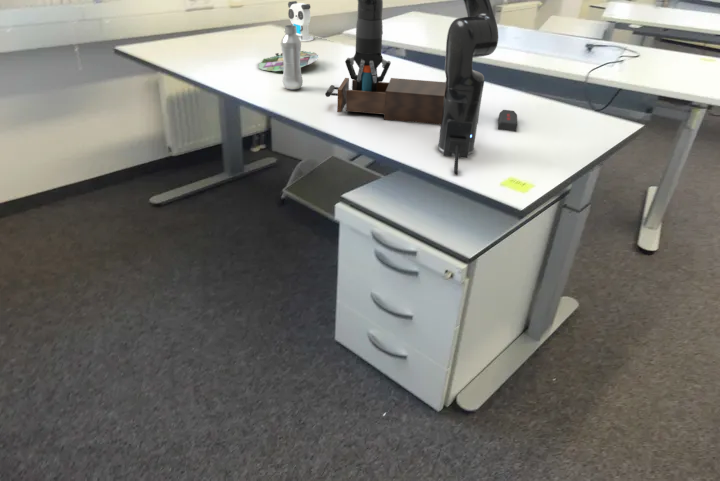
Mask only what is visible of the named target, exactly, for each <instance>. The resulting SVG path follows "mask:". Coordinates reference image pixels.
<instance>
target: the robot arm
mask: <svg viewBox="0 0 720 481" xmlns="http://www.w3.org/2000/svg"><path fill="white" fill-rule="evenodd" d="M462 2H463V5H464V8H465V11H466V15H467V16H461V17H458V18H457V17H456V19H454V20H453V21H452V22H451V23H450V25H449V27H448V31H447V34H446V42H445V58H444V60H445V61H444V73H445V82H446V86H445V95H444V102H443V111H442V119H441V125H440V128H439V138H438V144H437V151H439V153H441V154H442V155H443V156H444V157H453V158H454V165H453V174H454V175H458V173H459V169H458V168H459V159H460V158H463V159H468V157H470V156H472V155H473V154H474V151H475V142H476V135H477V129H478V123H479V116H480V110H481V104H482V97H483V91H484V85H485V76H484V74H483V73H481V72H480V71H477V70H474V69H473V61H474V60H473V59H474V58H475V59H476V58H482V57H488V56H490V55H493V53H494V52H495V51H496V49H497V47H498V43H499V26H498V22H497V20H496V16H495V13H494V9H493V6H492V2H491V0H462ZM383 10H384V2H383V0H357V17H356V18H357V19H356V26H355V52H354V55H353V57H346V59H345V61H344V62H345V66H346V69H347V71H348V73H349V74H348V75H349V76H350V77H349V78H350V80H356V81H357V90H358V91H361V83H362V73H363V68H364V65H370V68H371V75H372V79H373V83H372V92H377V83H378V82H384V79H385V77H386V75H387V72H388V70H389V68H390V66H391V61H390V60H386V59H384V58H383V55H382V49H383V48H382V46H383V34H384V32H383V29H384V28H383V27H384V26H383V12H384V11H383ZM355 64H356V65H357V67H358V71H357V74H356V71H355V67H354V65H355ZM381 64H382V65H381ZM380 65H381V67H382V69H383V70H382V72H381V74H380V75H378V67H379V66H380Z"/></svg>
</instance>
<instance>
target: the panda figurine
mask: <svg viewBox="0 0 720 481" xmlns="http://www.w3.org/2000/svg"><path fill="white" fill-rule="evenodd" d="M287 5H288V6H287V8H289V9H288V12H287V14H288V16H287V17H288V18H289V21H290V23H291V24H290V25H294V26H296V31H297V33H296V35H297V36H298V38H299V39H300V41H301V43H306V42H312V41H314V37H313V36H311V35H309V34H310V33H309V25H310V24H311V20H312V19H311V18H312V17H311V4H310V3H305V2H298V1H297V0H292V1H288V3H287Z"/></svg>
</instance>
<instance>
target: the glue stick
mask: <svg viewBox="0 0 720 481" xmlns="http://www.w3.org/2000/svg"><path fill="white" fill-rule="evenodd" d="M372 83H373V79H372V75H371V68H370V65H364V68H363V73H362V83H361V91H371V92H372Z"/></svg>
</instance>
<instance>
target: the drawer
mask: <svg viewBox="0 0 720 481" xmlns="http://www.w3.org/2000/svg"><path fill="white" fill-rule="evenodd" d="M388 84H389V82H387V81H382V82H378V83H377V92H371V91H358V90H357V81H356V80H354V79H351V89H350V88H349V87H350V77H344V79H343V81H342V82H341V84H340V85H339V86H335V85H333V84H330V85H329V87H328V89H327V90H326V92H325V96H326V98H329V97H331V96H335V97H337V107H336V108H337V109H336V110H337V113H342V112H343V110H344V108H345V111H346V112H354V113H364V114H367V113H368V114H375V115H376V114H378V115H384V112H385V95H386V89H387V87H388ZM335 90H336V91H337V92H334V91H335Z"/></svg>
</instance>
